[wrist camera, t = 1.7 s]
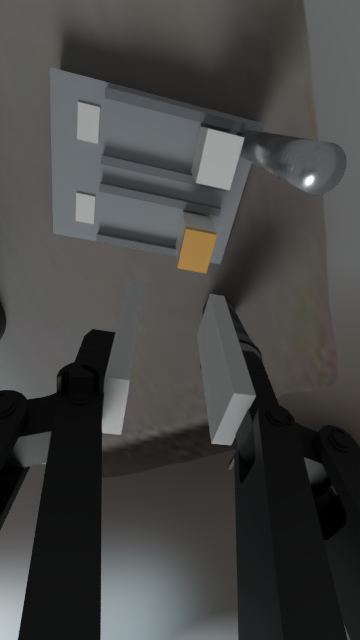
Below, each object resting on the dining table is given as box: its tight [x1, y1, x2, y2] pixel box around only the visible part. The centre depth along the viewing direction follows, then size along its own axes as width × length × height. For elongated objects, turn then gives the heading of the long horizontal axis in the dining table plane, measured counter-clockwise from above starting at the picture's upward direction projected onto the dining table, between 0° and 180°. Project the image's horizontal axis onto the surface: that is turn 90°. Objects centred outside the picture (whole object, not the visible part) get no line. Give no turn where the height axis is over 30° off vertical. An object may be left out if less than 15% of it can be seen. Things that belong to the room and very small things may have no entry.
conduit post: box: [237, 130, 346, 195], centre depth 23 cm, size 2×2×18 cm
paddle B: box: [191, 126, 244, 190], centre depth 28 cm, size 3×4×7 cm
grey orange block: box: [176, 210, 217, 273], centre depth 32 cm, size 3×4×7 cm
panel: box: [50, 67, 264, 264], centre depth 33 cm, size 20×15×4 cm
